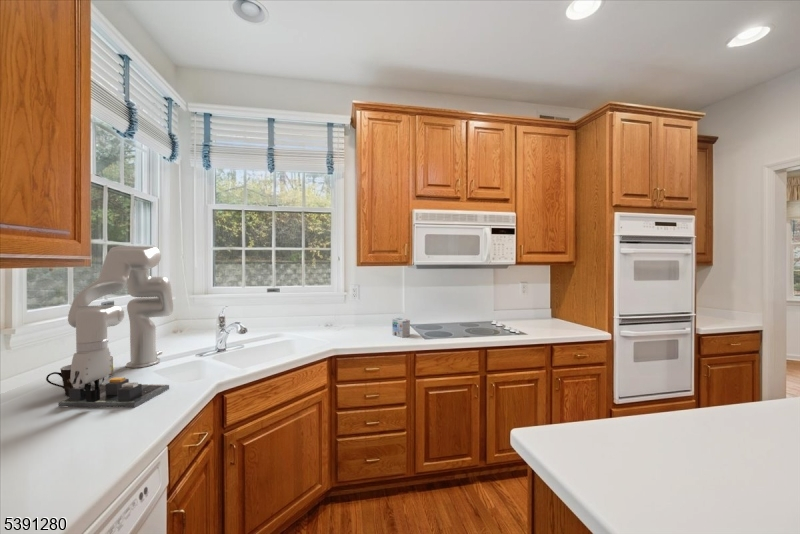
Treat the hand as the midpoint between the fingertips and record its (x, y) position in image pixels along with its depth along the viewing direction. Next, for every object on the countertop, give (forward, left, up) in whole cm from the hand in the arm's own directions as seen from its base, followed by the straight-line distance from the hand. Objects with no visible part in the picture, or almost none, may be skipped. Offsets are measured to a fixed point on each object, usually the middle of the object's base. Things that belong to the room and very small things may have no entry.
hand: (93, 400), depth 108 cm
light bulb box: (-109, +101, -3) cm, 148 cm away
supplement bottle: (-30, -24, -3) cm, 38 cm away
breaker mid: (-9, 0, -1) cm, 9 cm away
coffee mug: (-13, -20, -3) cm, 24 cm away
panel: (-9, 0, -3) cm, 9 cm away
